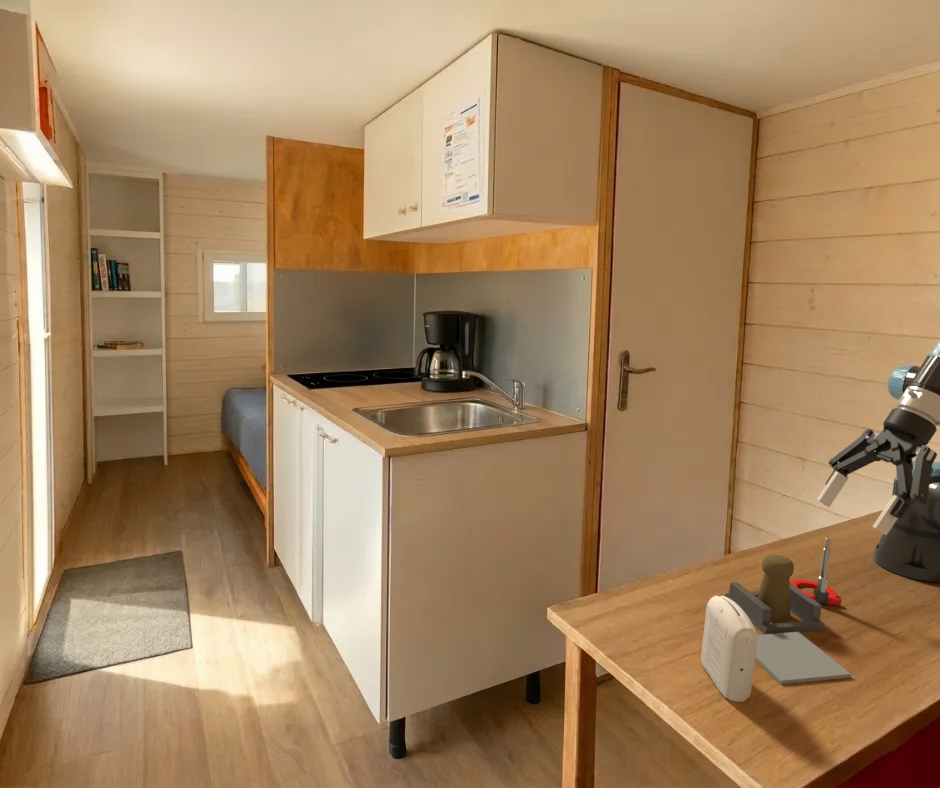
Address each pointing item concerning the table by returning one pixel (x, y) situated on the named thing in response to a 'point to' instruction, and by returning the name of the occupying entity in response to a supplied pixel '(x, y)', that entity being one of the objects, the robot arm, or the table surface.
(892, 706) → the table surface
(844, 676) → the mat
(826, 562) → the tow hook
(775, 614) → the cork
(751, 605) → the grey square frame
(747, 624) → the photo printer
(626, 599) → the table surface
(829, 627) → the table surface
